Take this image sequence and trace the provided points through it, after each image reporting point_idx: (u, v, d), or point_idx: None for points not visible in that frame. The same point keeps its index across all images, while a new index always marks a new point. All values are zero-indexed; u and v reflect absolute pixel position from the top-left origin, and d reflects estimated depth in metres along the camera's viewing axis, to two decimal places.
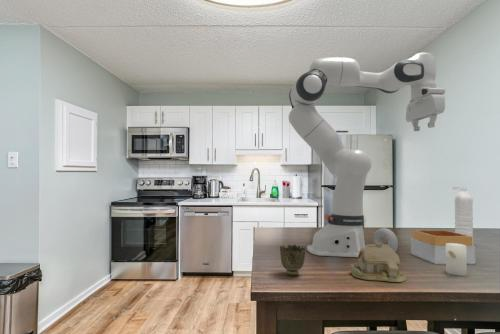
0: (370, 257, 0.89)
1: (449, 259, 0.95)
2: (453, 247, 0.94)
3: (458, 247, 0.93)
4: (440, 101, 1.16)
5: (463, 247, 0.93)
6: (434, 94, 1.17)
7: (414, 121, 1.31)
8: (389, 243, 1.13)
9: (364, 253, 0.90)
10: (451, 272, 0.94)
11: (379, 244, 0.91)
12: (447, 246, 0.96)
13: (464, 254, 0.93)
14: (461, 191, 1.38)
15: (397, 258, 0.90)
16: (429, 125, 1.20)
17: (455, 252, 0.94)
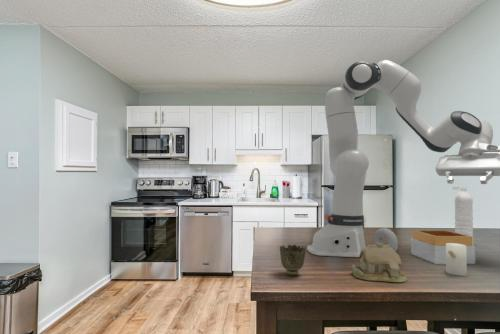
0: (372, 257, 0.88)
1: (449, 259, 0.95)
2: (453, 247, 0.94)
3: (458, 247, 0.93)
4: None
5: (463, 247, 0.93)
6: None
7: (450, 172, 1.10)
8: (389, 243, 1.13)
9: (365, 253, 0.89)
10: (451, 272, 0.94)
11: (380, 244, 0.91)
12: (447, 246, 0.96)
13: (464, 254, 0.93)
14: (461, 191, 1.38)
15: (398, 258, 0.89)
16: (484, 179, 1.01)
17: (455, 252, 0.94)
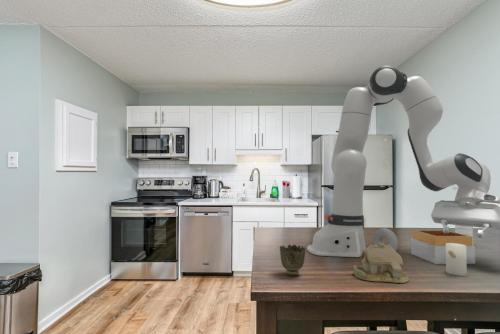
0: (374, 258, 0.88)
1: (449, 259, 0.95)
2: (453, 247, 0.94)
3: (458, 247, 0.93)
4: None
5: (463, 247, 0.93)
6: None
7: (446, 221, 1.06)
8: (389, 243, 1.13)
9: (367, 254, 0.89)
10: (451, 272, 0.94)
11: (382, 245, 0.90)
12: (447, 246, 0.96)
13: (464, 254, 0.93)
14: None
15: (400, 258, 0.89)
16: (481, 233, 0.97)
17: (455, 252, 0.94)
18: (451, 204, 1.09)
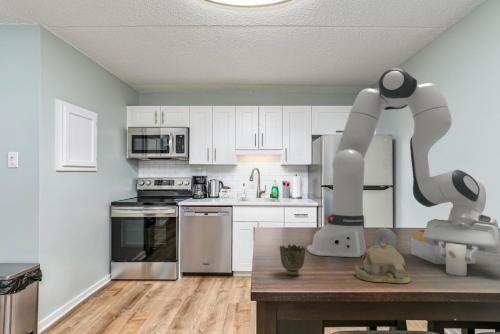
0: (376, 258, 0.87)
1: (449, 259, 0.95)
2: (453, 247, 0.94)
3: (458, 247, 0.93)
4: None
5: (463, 247, 0.93)
6: None
7: (443, 243, 1.00)
8: (389, 243, 1.13)
9: (370, 254, 0.88)
10: (451, 272, 0.94)
11: (384, 245, 0.90)
12: (447, 246, 0.96)
13: (464, 254, 0.93)
14: None
15: (402, 259, 0.89)
16: (469, 256, 0.93)
17: (455, 252, 0.94)
18: (444, 224, 1.03)
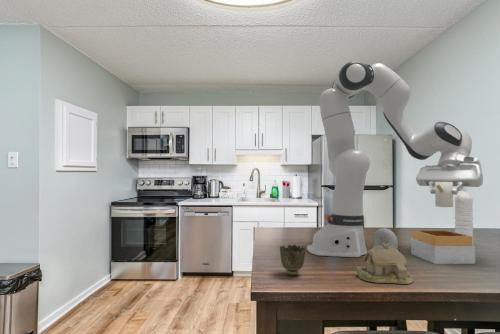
0: (379, 259, 0.87)
1: (438, 194, 1.09)
2: (441, 183, 1.08)
3: (445, 182, 1.07)
4: (482, 175, 1.06)
5: (449, 182, 1.07)
6: None
7: (433, 183, 1.14)
8: (389, 243, 1.13)
9: (373, 255, 0.87)
10: (439, 205, 1.08)
11: (386, 245, 0.89)
12: (436, 183, 1.10)
13: (450, 188, 1.07)
14: (461, 191, 1.38)
15: (404, 259, 0.88)
16: (455, 190, 1.06)
17: (443, 187, 1.08)
18: (434, 168, 1.17)
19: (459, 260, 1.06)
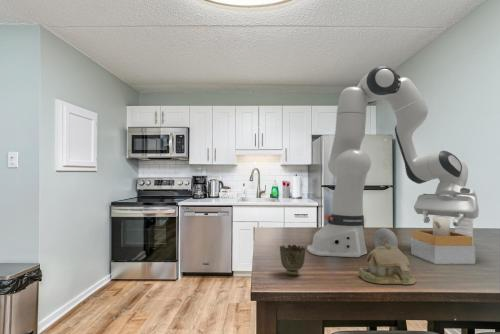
0: (382, 260, 0.86)
1: (435, 229, 1.12)
2: (438, 219, 1.12)
3: (442, 218, 1.11)
4: (477, 207, 1.10)
5: (447, 218, 1.11)
6: None
7: (426, 212, 1.18)
8: (389, 243, 1.13)
9: (376, 256, 0.87)
10: None
11: (389, 246, 0.89)
12: (433, 218, 1.13)
13: (447, 224, 1.11)
14: None
15: (407, 259, 0.88)
16: (456, 221, 1.09)
17: (440, 223, 1.11)
18: (432, 197, 1.21)
19: (459, 260, 1.06)
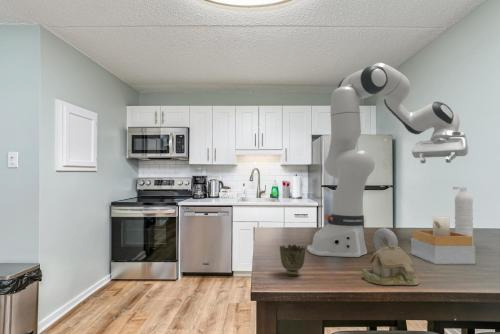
0: (387, 261, 0.85)
1: (435, 229, 1.12)
2: (438, 219, 1.12)
3: (442, 218, 1.11)
4: (467, 146, 1.26)
5: (447, 218, 1.11)
6: None
7: (423, 154, 1.35)
8: (389, 243, 1.13)
9: (380, 257, 0.86)
10: None
11: (392, 246, 0.88)
12: (433, 218, 1.13)
13: (447, 224, 1.11)
14: (461, 191, 1.38)
15: (410, 260, 0.88)
16: (448, 158, 1.25)
17: (440, 223, 1.11)
18: (427, 142, 1.37)
19: (459, 260, 1.06)
